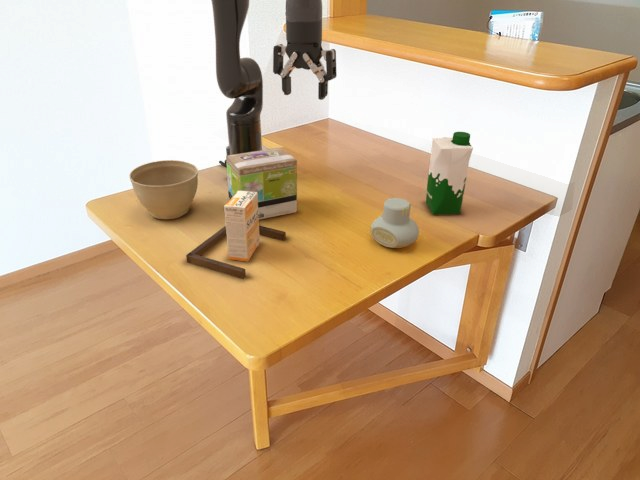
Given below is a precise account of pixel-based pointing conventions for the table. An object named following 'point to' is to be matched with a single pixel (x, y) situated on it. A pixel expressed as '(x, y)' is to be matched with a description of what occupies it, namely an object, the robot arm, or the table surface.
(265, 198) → the tea box
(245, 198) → the supplement box
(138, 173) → the planter bowl
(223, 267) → the bay
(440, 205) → the milk carton
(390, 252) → the table surface
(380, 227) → the air freshener
